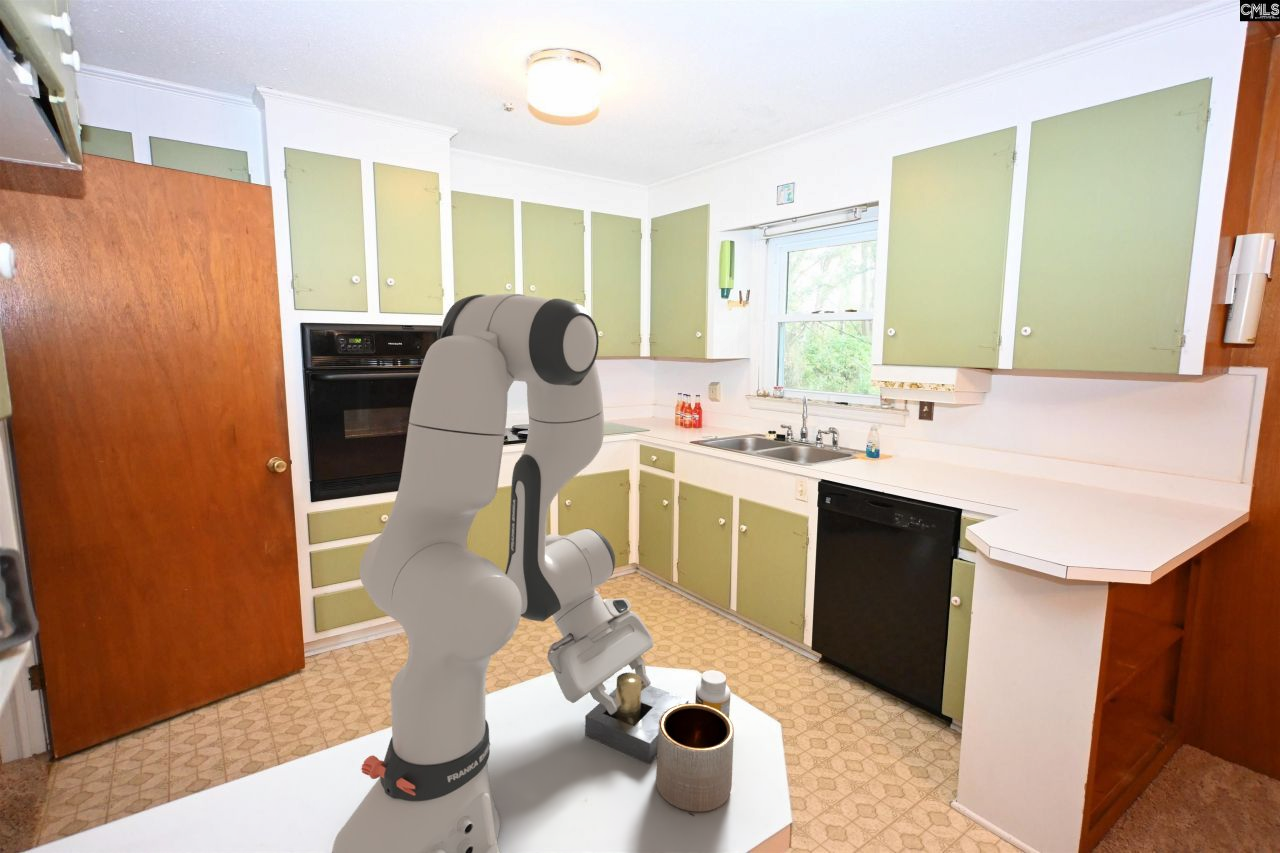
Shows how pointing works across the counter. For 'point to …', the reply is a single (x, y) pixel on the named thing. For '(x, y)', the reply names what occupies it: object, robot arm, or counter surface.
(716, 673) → the supplement bottle
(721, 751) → the planter
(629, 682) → the gold round-topped cylinder
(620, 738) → the jig plate
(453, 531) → the robot arm
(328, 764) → the counter surface
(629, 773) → the counter surface
